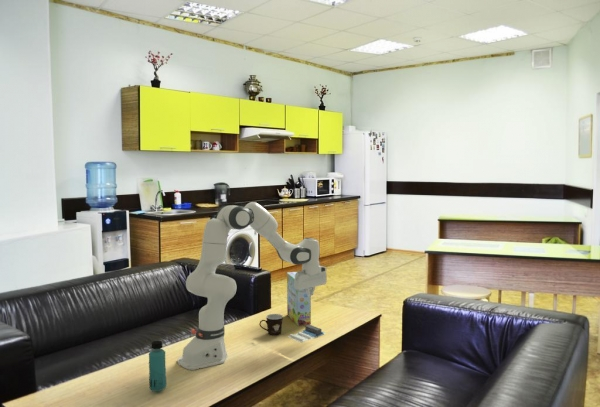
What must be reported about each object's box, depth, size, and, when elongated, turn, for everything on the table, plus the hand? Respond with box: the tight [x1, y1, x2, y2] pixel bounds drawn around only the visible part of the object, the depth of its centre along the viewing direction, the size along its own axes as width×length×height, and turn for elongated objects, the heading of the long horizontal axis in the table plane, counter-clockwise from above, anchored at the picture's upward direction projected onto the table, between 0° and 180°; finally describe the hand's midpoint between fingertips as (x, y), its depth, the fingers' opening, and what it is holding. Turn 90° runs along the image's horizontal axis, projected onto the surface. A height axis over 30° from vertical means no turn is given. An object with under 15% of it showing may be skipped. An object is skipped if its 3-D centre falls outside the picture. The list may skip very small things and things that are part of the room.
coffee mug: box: [259, 313, 284, 337], centre depth 244 cm, size 12×9×10 cm
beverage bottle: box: [148, 340, 167, 392], centre depth 183 cm, size 6×7×20 cm
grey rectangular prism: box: [304, 324, 322, 337], centre depth 245 cm, size 3×9×3 cm, turn 42°
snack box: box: [286, 271, 312, 326], centre depth 266 cm, size 22×9×26 cm, turn 17°
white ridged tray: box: [287, 329, 327, 343], centre depth 242 cm, size 18×10×2 cm, turn 132°
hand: (310, 295), depth 243 cm, fingers closed
